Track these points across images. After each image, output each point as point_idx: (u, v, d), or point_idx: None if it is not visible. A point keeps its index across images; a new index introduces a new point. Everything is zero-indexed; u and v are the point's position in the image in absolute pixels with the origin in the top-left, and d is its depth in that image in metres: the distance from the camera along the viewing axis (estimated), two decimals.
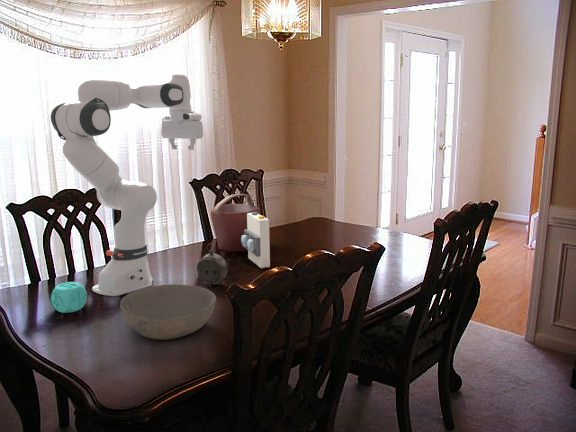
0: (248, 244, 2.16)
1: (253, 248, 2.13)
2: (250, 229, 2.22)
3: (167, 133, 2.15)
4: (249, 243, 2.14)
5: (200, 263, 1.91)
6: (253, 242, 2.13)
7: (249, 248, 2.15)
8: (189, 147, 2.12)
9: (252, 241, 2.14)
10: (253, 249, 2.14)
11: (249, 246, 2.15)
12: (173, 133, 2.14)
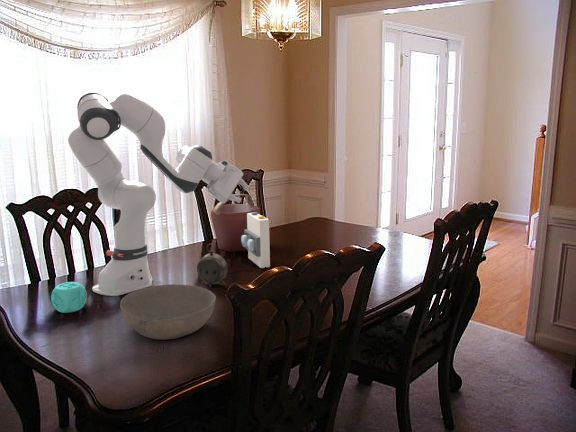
0: (248, 244, 2.16)
1: (253, 248, 2.13)
2: (250, 229, 2.22)
3: (227, 190, 2.00)
4: (249, 243, 2.14)
5: (200, 263, 1.91)
6: (253, 242, 2.13)
7: (249, 248, 2.15)
8: (246, 185, 2.10)
9: (252, 241, 2.14)
10: (253, 249, 2.14)
11: (249, 246, 2.15)
12: (229, 186, 2.03)
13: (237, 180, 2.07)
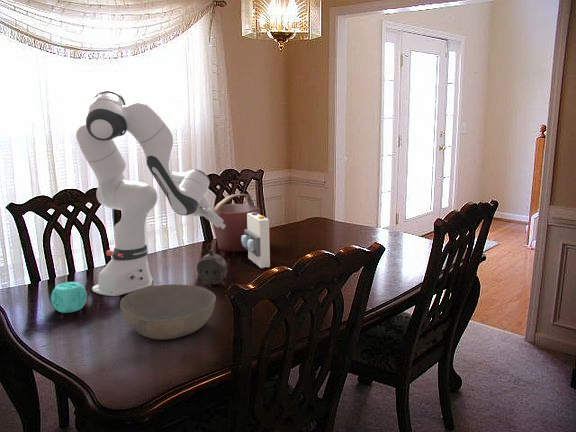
0: (248, 244, 2.16)
1: (253, 248, 2.13)
2: (250, 229, 2.22)
3: None
4: (249, 243, 2.14)
5: (200, 263, 1.91)
6: (253, 242, 2.13)
7: (249, 248, 2.15)
8: None
9: (252, 241, 2.14)
10: (253, 249, 2.14)
11: (249, 246, 2.15)
12: None
13: None
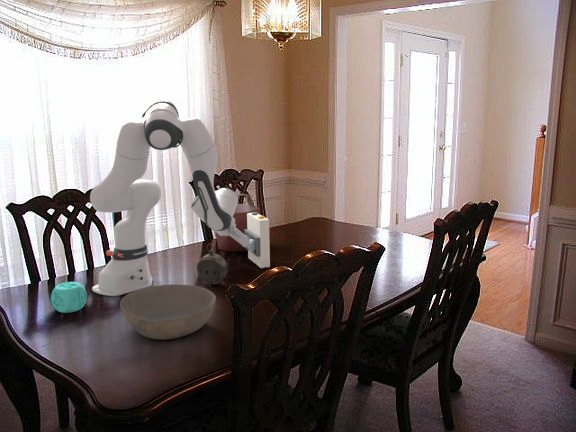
0: None
1: (254, 248, 2.13)
2: (250, 229, 2.22)
3: None
4: (250, 243, 2.15)
5: (200, 263, 1.91)
6: (254, 242, 2.14)
7: (250, 248, 2.15)
8: None
9: (253, 241, 2.14)
10: (254, 249, 2.14)
11: (250, 246, 2.15)
12: None
13: None
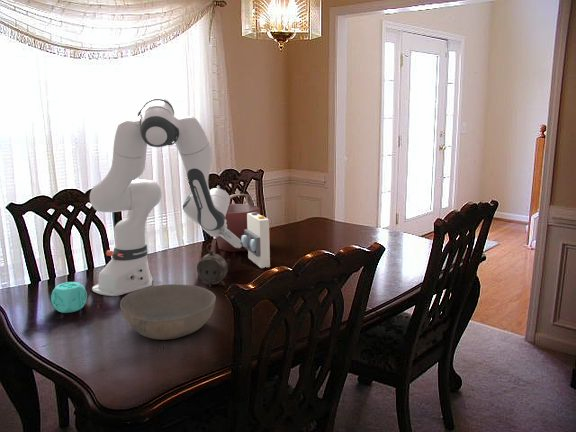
0: (251, 244, 2.16)
1: None
2: (250, 229, 2.22)
3: None
4: (252, 243, 2.15)
5: (200, 263, 1.91)
6: None
7: (252, 248, 2.16)
8: None
9: (255, 241, 2.14)
10: None
11: (252, 246, 2.15)
12: None
13: None
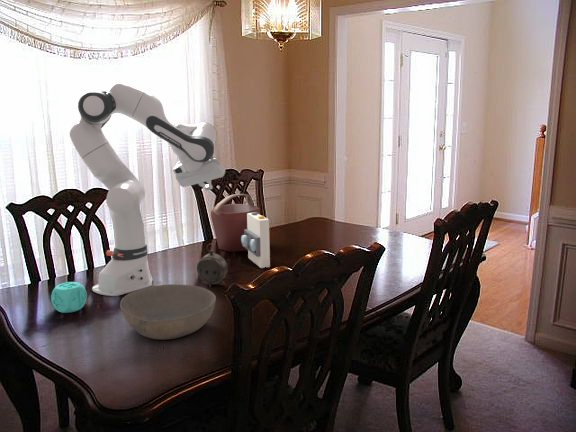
0: (251, 244, 2.16)
1: None
2: (250, 229, 2.22)
3: None
4: (252, 243, 2.15)
5: (200, 263, 1.91)
6: None
7: (252, 248, 2.16)
8: None
9: (255, 241, 2.14)
10: None
11: (252, 246, 2.15)
12: None
13: None
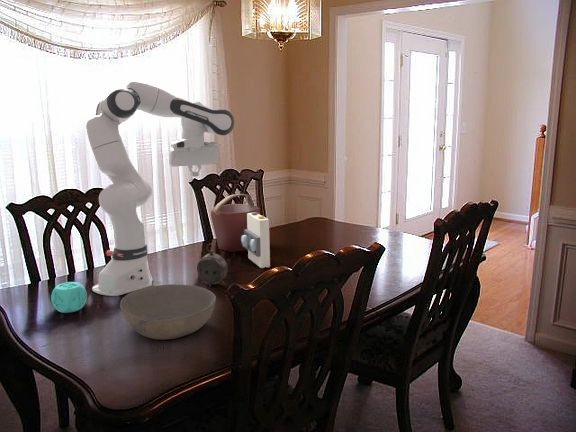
0: (251, 244, 2.16)
1: None
2: (250, 229, 2.22)
3: None
4: (252, 243, 2.15)
5: (200, 263, 1.91)
6: None
7: (252, 248, 2.16)
8: None
9: (255, 241, 2.14)
10: None
11: (252, 246, 2.15)
12: None
13: None
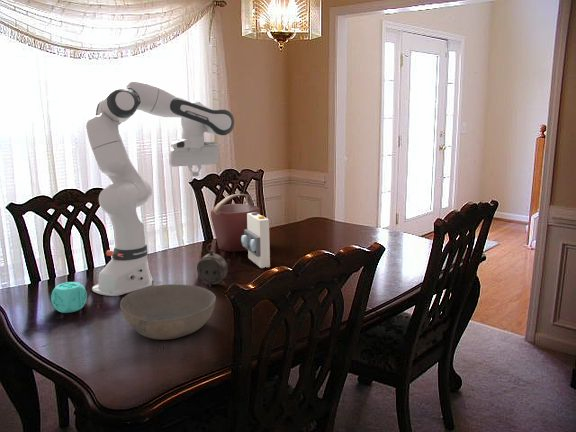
0: (251, 244, 2.16)
1: None
2: (250, 229, 2.22)
3: None
4: (252, 243, 2.15)
5: (200, 263, 1.91)
6: None
7: (252, 248, 2.16)
8: None
9: (255, 241, 2.14)
10: None
11: (252, 246, 2.15)
12: None
13: None
